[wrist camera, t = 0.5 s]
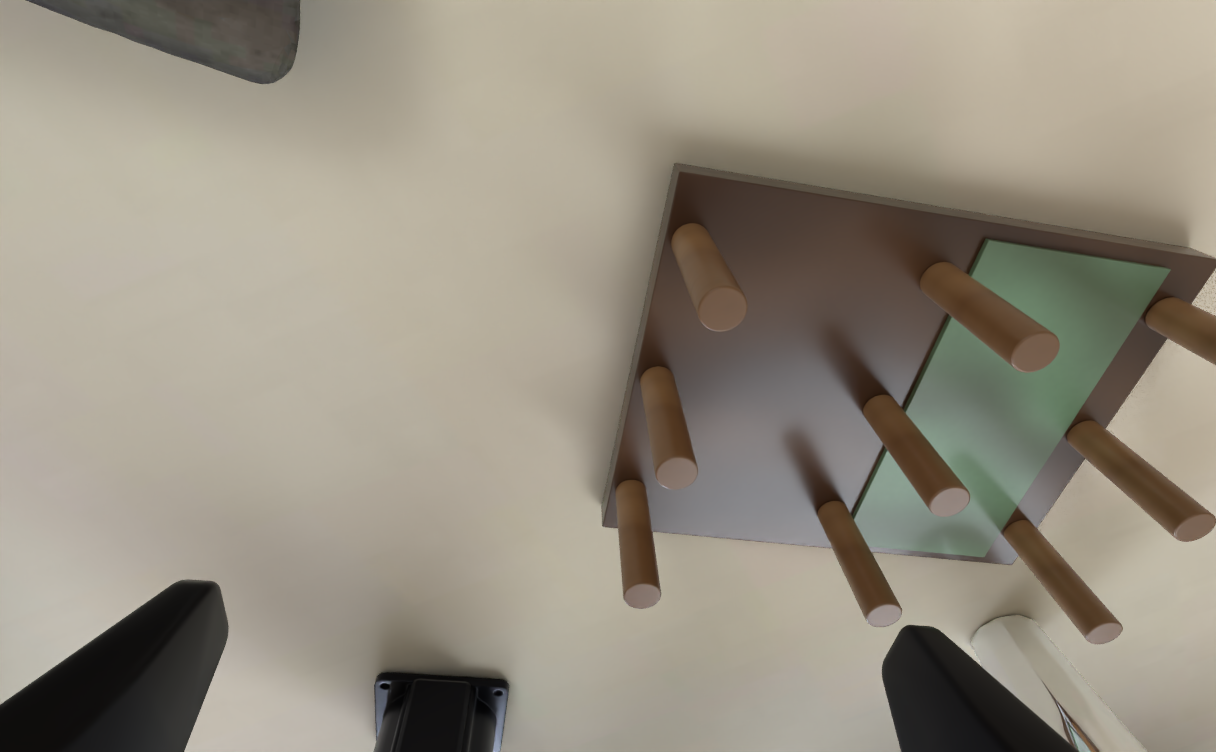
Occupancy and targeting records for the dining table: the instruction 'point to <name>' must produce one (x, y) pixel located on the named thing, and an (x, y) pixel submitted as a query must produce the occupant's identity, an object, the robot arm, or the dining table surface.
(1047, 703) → the milkshake
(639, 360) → the plate rack
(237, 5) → the decorative stone
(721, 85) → the dining table surface
